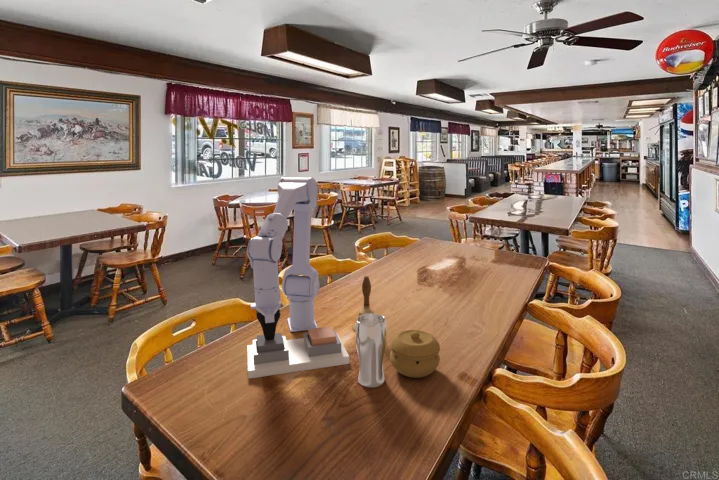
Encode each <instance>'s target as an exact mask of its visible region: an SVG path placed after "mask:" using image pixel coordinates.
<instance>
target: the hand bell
mask: <svg viewBox="0 0 719 480" xmlns="http://www.w3.org/2000/svg"><path fill="white" fill-rule="evenodd" d="M371 283H372V282H371V281H370V278H369V276H367V275H365V276H364V277H363V281H362V285H361V292H362V295H363V308H361V309H360V310H359V311H358V316H360V315H363V314H368V313H374V314H375V311H374V309H372V308H371V306H370V304H371V303H370V296H371V292H372V284H371ZM356 323H357V321H356V322H355V323H354V324H353V325H352V330H353V331H354V332H355V333H356Z"/></svg>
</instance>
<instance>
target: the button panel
mask: <svg viewBox="0 0 719 480" xmlns="http://www.w3.org/2000/svg"><path fill="white" fill-rule="evenodd" d="M332 330H333V332H334V334H335V336H336V343H328V344H321V345H313V346H311V344H310V341H309V334H308V332H304V333H303V337H301V338H294V339H288V340H287V337H286V335H282V340H283V348H284V349H283V350H276V351H268V352H261V353H258V346H257V338H256V339H255V338H254V339H252V344H248V345H246V347H247V349H246V350H247V377H248V380H250V379H256V378H262V377H268V376H275V375H276V376H277V375H283V374H289V373H296V372H301V371H304V372H305V371H309V370H316V369H324V368H330V367H335V366H341V365H349V364H350V355H349V353H348V351H347V349H346V347H345V345H344V344H343V341H342V340H341V338H340V336H339V334H338V333H337V332H336V330H335V329H332Z"/></svg>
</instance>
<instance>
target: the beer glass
mask: <svg viewBox="0 0 719 480" xmlns="http://www.w3.org/2000/svg"><path fill="white" fill-rule="evenodd" d="M356 322H357V323H356ZM356 322H355V323H356V332H355V345H356V351H357V356H358V362H359V372H358V376H357V381H358V383H359V385H361V386H363V387H365V388H369V389H370V388H373V389H374V388H378V387H380V386H382V385H383V384H384V383H385V373H384V360H385V354H386V349H387V345H388V341H387V340H388V330H387V318H386V316H384V315H382V314H380V313H375V312H374V313H368V314H363V315H360V316H359V315H358V316H357V317H356Z"/></svg>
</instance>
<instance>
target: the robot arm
mask: <svg viewBox="0 0 719 480" xmlns="http://www.w3.org/2000/svg"><path fill="white" fill-rule="evenodd" d="M277 183H278V184H277V194H278V198H277V202H276V205H275V207H274V210H273V213H269V214H268V215H267V216H266V217H265V220H264V221H263V223H262V224H261V228H260V229H259V231H258V234H257V236H254V237H253V238H250V240H248V244H247V249H246V250H247V251H246V255H247V258H248V260H249V263H250V268H251V269H252V271H253V286H254V287H253V288H254V300H255V301H254V303H251V304H250V309H251V310H256V311H255V315H256V319H257V321H258V323H259V324H260V326H261V329H262V335H264V337H265V340H273V339H274V337H275V333H277V332H276V329H277V325H278V322H279V320H280V318H281V309H280V307H281V306H282V305H281V303H282V302H281V300H280V299H281V298H280V283H279V262H278V261H279V260H280V258H281V255H282V249H283V243H284V242H283V239H284V237H285V235H286V233H287V232H286V231H287V230H288V227H289V222H288V217H289V215H290V214H291V212H292V210H293V211H294V214H293V215H294V216H293V219H294V220H293V245H292V264H291V266H289V267H288V268H287V269H285V271H284V272H283V273H284V274H283V280H282V282H281V289H282V293H283V295H284V296H286V299H287V300H288V303H289V304H288V305H289V317H288V318H287V324H288V327H289V331H290V333H292V332H293V333H295V332H302V331H308V329H315V328H319V327H318V325H317V322H316V320H315V301H314V299H315V298H316V297H317V296H318V295H319V292H320V280H319V279H320V278H319V271H318V270H316V269H315V268H314V267H313V266H312V265H311V264H310V261H311V259H310V258H311V257H310V256H311V254H310V253H311V230H312V229H311V228H312V227H311V226H312V212H313V211H312V210H313V209H314V208H316V207H317V205H318V204H317V202H318V194H319V193H318V191H319V190H318V189H319V188H318V183H317V181H316V179H315V178H314V177H313V176H311V177H286V176H282V177H280V179H279V180H278V182H277Z"/></svg>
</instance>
